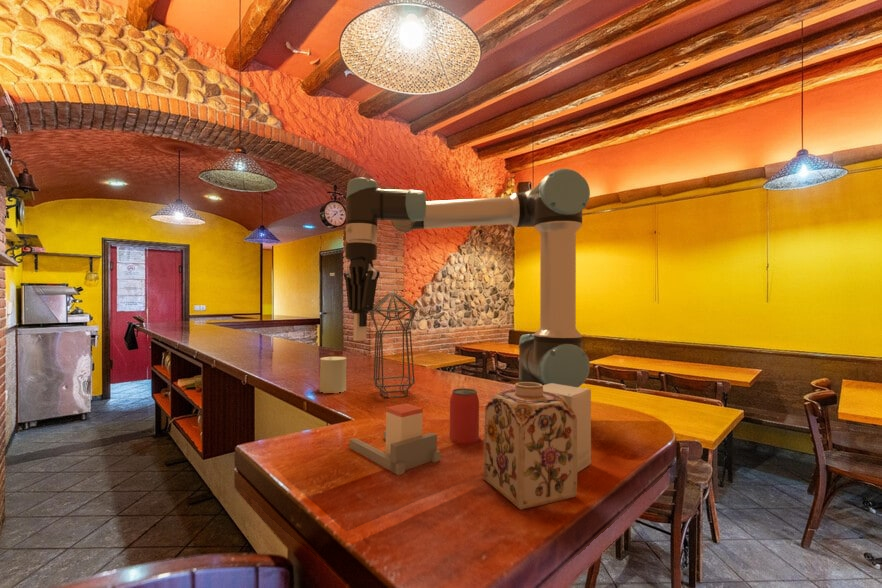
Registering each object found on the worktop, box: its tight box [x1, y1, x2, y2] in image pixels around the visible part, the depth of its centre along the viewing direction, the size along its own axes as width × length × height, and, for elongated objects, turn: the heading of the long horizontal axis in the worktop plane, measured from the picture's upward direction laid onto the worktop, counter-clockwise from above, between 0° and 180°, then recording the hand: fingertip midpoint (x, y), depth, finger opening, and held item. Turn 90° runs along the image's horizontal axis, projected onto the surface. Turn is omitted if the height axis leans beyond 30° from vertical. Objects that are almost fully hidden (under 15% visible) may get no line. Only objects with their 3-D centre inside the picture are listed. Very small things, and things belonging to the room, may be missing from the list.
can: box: [318, 355, 347, 394], centre depth 140 cm, size 9×9×12 cm
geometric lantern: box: [368, 292, 420, 398], centre depth 135 cm, size 16×16×35 cm
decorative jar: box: [483, 381, 578, 510], centre depth 68 cm, size 12×12×18 cm
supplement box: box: [543, 383, 592, 474], centre depth 78 cm, size 9×9×15 cm
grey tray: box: [349, 429, 441, 476], centre depth 78 cm, size 20×12×6 cm, turn 42°
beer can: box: [448, 387, 480, 444], centre depth 88 cm, size 7×7×12 cm
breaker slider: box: [385, 403, 424, 455], centre depth 76 cm, size 5×5×10 cm
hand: (359, 340), depth 96 cm, fingers closed
